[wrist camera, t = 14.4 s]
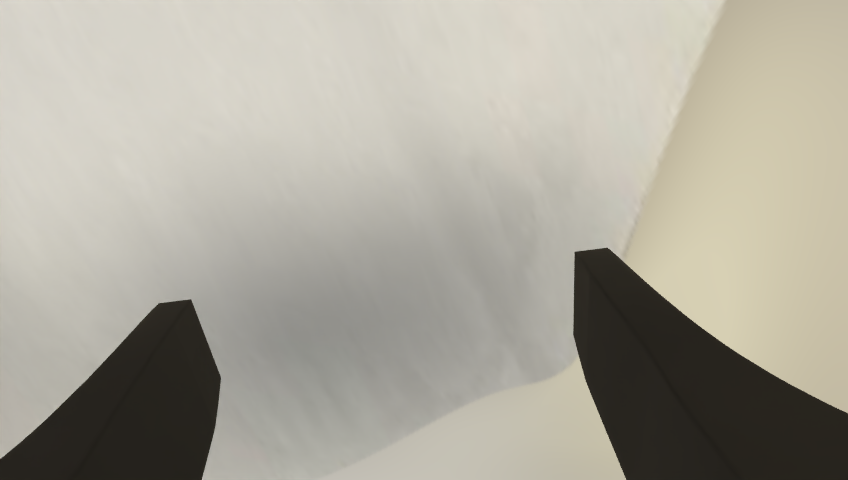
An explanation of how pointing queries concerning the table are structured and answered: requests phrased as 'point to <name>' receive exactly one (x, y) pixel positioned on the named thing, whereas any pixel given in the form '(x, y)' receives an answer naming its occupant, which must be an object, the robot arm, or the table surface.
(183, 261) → the table surface
